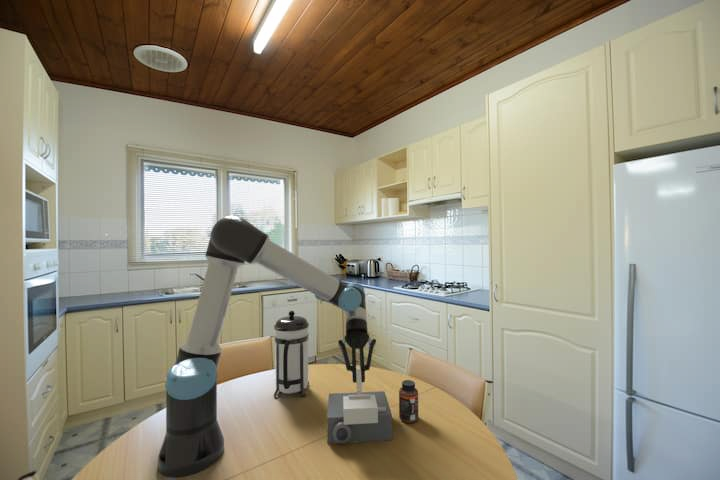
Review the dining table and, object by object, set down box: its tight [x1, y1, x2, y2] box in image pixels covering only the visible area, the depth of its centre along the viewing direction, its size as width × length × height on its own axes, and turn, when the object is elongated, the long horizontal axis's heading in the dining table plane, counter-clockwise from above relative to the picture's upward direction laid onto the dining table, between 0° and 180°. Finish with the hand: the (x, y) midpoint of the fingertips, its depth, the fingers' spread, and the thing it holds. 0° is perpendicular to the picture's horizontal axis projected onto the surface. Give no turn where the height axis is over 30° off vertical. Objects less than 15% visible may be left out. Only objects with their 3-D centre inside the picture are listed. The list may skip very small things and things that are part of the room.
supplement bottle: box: [398, 379, 419, 424], centre depth 97 cm, size 6×6×11 cm
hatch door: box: [343, 394, 378, 425], centre depth 85 cm, size 9×7×5 cm
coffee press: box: [273, 310, 310, 399], centre depth 116 cm, size 17×16×30 cm
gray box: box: [326, 390, 393, 444], centre depth 92 cm, size 18×16×8 cm
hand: (359, 392), depth 93 cm, fingers closed
